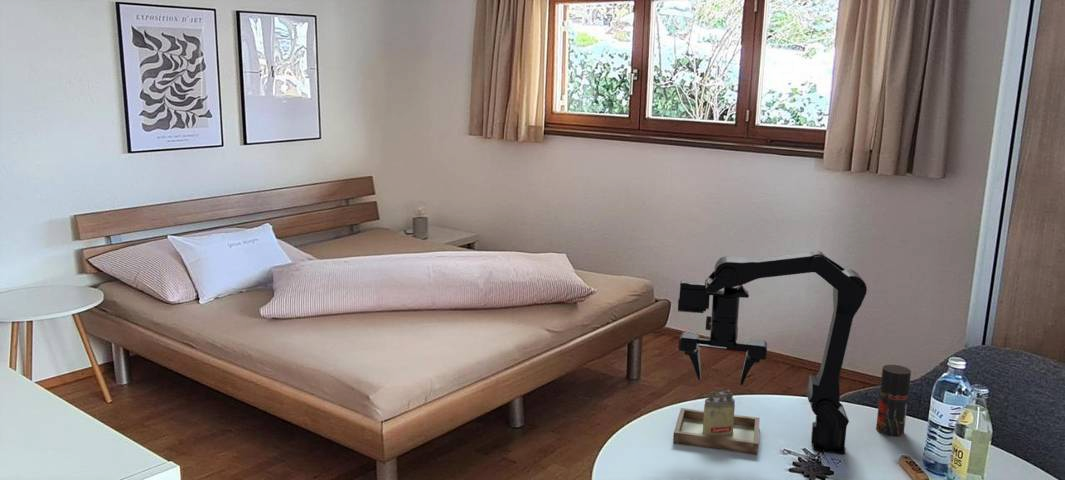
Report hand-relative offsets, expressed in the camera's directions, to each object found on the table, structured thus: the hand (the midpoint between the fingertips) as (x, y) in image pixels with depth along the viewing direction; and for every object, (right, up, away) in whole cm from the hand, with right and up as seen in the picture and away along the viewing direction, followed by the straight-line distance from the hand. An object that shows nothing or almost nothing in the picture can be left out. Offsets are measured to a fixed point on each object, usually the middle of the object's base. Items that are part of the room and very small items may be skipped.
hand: (720, 381), depth 188 cm
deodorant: (+41, -13, +7) cm, 43 cm away
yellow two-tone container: (0, -12, +3) cm, 13 cm away
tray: (0, -13, +3) cm, 13 cm away
